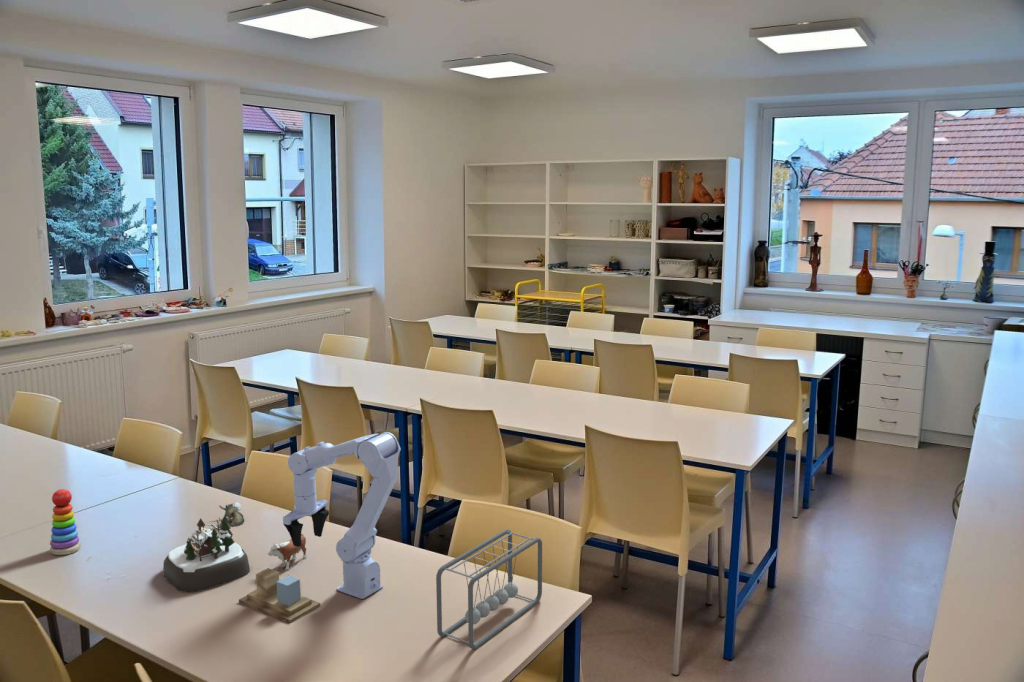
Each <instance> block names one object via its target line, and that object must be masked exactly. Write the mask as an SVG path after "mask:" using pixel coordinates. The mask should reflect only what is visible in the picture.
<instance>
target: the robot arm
mask: <svg viewBox="0 0 1024 682" xmlns="http://www.w3.org/2000/svg"><path fill="white" fill-rule="evenodd" d="M401 450H402V449H401V446H400V444H399V442H398V439H397V437H396V436H395V435H394V434H393V433H392V432H388V431H385V432H381V433H373V434H372V433H371V434H368V435H363V436H361V437H357V438H355V439H350V440H348V441H345V442H342V443H339V444H336V445H334V444H332V443H330V442H326V443H325V441H320V442H318V443H317V444H316V445H315V446H310V445H309V446H305V447H304V448H303V449H301V450H299V451H297V452H294V453H292V454H290V455H289V456H288V459H287V465H288V468H289V470H290V471H291V473H292V474H293V476H292V477H293V478H292V479H293V492H294V506H293V510H291V511H290V512H288V513H287V514H285V515H284V516H282V524H283V526H284V527H285V529H286V530H287V531H288V534H289V536H290V540H291V539H292V542H293V545H294V546H297V547H300V546H301V534H302V532H303V531H302V530H303V526H304V523H301V522H299V520H301V519H303V518H305V517H309V516H311V520H312V527H313V534H314V536H315V537H319V538H320V537H322V536H323V530H324V525H325V523H326V521H327V519H328V517H329V515H330V510H329V500H327V499H322V500H319V501H317V482H316V480H317V479H316V474H317V469H319V468H323V467H326V466H331V465H333V464H335V462H336V461H337V459H338V458H343V457H346V456H350V455H354V456H355V459H357V460H360V462H361V463H362V465H364V468H366V469H367V471H368V472H369V474H370V475H371V476H372V477H373V480H372V481H371V485H370V487H369V489H368V491H367V493H366V496H365V498H364V500H363V502H362V505H361V507H360V509H359V511H358V512H357V516H356V518H355V520H354V522H353V524H352V525H351V527H349V529H348V530H347V531H346V532H345V533H344V535H343V537H342V538H341V539H339V540H338V541H337V542H336V545H335V551H336V554H337V556H338V557H339V558H340V560H341V562H342V572H343V573H342V575H343V577H342V578H343V584H342V585H340V586H338V587H337V588H336V591H339V592H341V593H344V594H347V595H350V596H353V597H354V598H355V597H356V598H358V599H361V600H363V599H366V598H367V597H369V596H371V595H372V594H374V593H376V592H377V591H379V590H381V589H382V588H383V587H384V586H383V585H382V584H381V567H380V564H379V562H377V561H376V560H374V559H373V558H372V556H371V554H372V549H373V548H374V547H375V544H376V535H377V533H378V529H377V528H376V525H377V522H378V521H379V518H380V516H381V515H382V512H383V510H384V508H385V505H386V503H387V501H388V499H389V497H390V495H391V493H392V490H393V488H394V486H395V484H396V482H397V480H398V477H399V454H400V452H401Z"/></svg>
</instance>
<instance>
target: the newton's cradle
mask: <svg viewBox="0 0 1024 682" xmlns="http://www.w3.org/2000/svg"><path fill="white" fill-rule="evenodd" d="M513 535H514V536H517V537H521V538H524V539H525V540H524V541H522V542H521V543H519V544H516V543H513ZM498 539H499V540H498ZM505 539H507V541H505ZM500 542H501V545H502V547H499V546H496V545H497V544H498V543H500ZM503 542H505V543H507V549H506V548H504V543H503ZM535 544H537V594H536V597H535V598H534V599H533V598H529V597H526V596H524V595H521V594H518V593H519V588H518V585H517V584H516V583H514V582H513V579H514V576H513V575H514V573H515V569H516V568H515V567H516V560H517V556H518V555H520V554H521V553H523V552H524V551H526V550H527V549H529V548H531V547H532V546H533V545H535ZM513 545H516V546H515V547H513ZM520 546H521V547H520ZM491 547H492V551H493V553H490V552H487V550H488V549H490V548H491ZM494 547H496V548H500V549H502V550H503V551H502V552H503V554H501V555H497V554H495V549H494ZM481 549H482V550H481ZM479 550H480V551H479ZM513 550H514V551H513ZM505 551H506V552H505ZM482 552H483V558H484V559H483V558H478V557H476V556H479V554H481V553H482ZM485 553H487V554H490V555H493V556H494V557H493V558H494V559H493V560H492V561H488V560H486V556H485ZM472 554H473V555H472ZM496 556H497V557H496ZM467 557H468V558H467ZM475 558H476V559H478V560H482V561H484V564H485V565H483V566H482V567H479V566H476V565H477V564H476V559H475ZM471 559H473V562H474V565H473V564H471V563H467V562H468V561H470V560H471ZM513 559H514V563H513ZM486 562H488V563H486ZM462 564H463V566H464V571H465V572H464V573H462V572H459V571H456V570H454V569H456V568H458V567H459V566H461V565H462ZM491 564H492V565H491ZM504 564H505V569H504V573H507V583H504V582H505V578H506V577H505V576H506V574H504V576H503V582H502V587H501V586H500V580H499V575H498V574H499V573H498V572H499V567H501V566H502V565H504ZM513 564H514V566H513ZM466 565H469V566H472V567H475V571H474V572H472V573H470V574H469V575H468V574H467V570H466ZM488 566H489V567H488ZM481 570H482V571H481ZM494 570H495V571H496V574H495V575H496V576H495V580H494V587H493V593H492V592H491V588H490V587H491V586H490V580H489V574H490V573H491V572H493V571H494ZM445 571H449V572H451V573H455V574H457V575H461V576H463V577H465V578H466V584H467V602H468V603H467V608H468V609H467V610H466V611H465V615H464V617H463V618H461V619H459V620H458V621H456V622H455V623H454V624H452V625H450V626H449V627H448V628H446V629H445V630H443V618H442V617H443V614H442V613H443V612H442V609H443V608H442V607H443V606H442V575H443V573H444V572H445ZM478 572H479V573H478ZM435 576H436V579H435V580H436V581H435V583H436V627H437V628H436V632H437V634H438V636H439V637H442V638H445V637H446V636H448V637H450V638H453V639H455V640H458V641H461V642H463V643H465V644H468V645H469V648H470V649H471V650H477V649H478V648H479V647H481V646H482V645H483V644H485V643H486V642H488V641H489V640H490V639H492V638H493V637H494V636H496V635H497V634H498V633H499V632H500V631H503V630H504V629H505V628H506V627H507V626H509V625H510V624H512V623H513V622H515V620H517V619H518V618H519V617H521V616H522V615H524V613H526V612H528V611H529V610H531V609H532V608H533V607H535V606H536V605H537V604H538V603H539V602H540V600H541V598H542V596H543V541H542V538H540V537H535V538H532V537H530V536H529V537H528V536H525V535H521V534H518V533H514V532H512V530H511V529H509V528H506V529H503V530H502V531H500V532H499V533H496V534H494V536H492V537H490V538H488V539H486V540H484V541H483V542H481V543H480V544H478V545H476V546H475V547H473V548H470V549H469V550H467V551H466V552H463V553H462V554H460V555H459V556H457V557H455V558H453V559H451V560H450V561H448V562H447V563H445V564H443V565H441V567H439V568H438V570H437V573H436V575H435ZM485 576H487V577H486V578H487V579H486V586H485V590H484V591H485V592H484V596H483V601H482V600H480V601H479V602H477V603H476V601H477V595H478V591H479V598H480V599H482V595H481V589H480V584H479V582H480V579H482V578H483V577H485ZM468 578H469V579H470V581H468ZM497 581H498V582H497ZM476 582H477V586H476V593H475V600H474V585H475V583H476ZM496 582H497V583H498V588H499V589H497V590H495V589H496ZM504 584H505V585H504ZM487 587H488V588H489V589H488V590H489V595H488V596H487V597H486V594H487ZM516 596H517V597H520V598H523V599H525V600H528V601H530V602H529V603H528V604H527V605H525V606H524V607H522V608H521V609H520V610H519V611H517V612H515V613H514V614H513V615H512V616H509V618H507V619H506V620H505V621H503V622H502V623H501V624H499V625H498V626H497V627H496V628H494V629H492V630H491V631H490V632H488V633H487V634H486V635H484V636H483V637H482V638H480V639H478V640H477V641H476V642H475V643H474V639H475V638H474V625H476V624H478V623H479V622H480V621H481V618H482V619H483V618H487V617H488V616H489V615H490V612H495V611H497V610H498V609H499V607H500V606H503V605H504V604H507V602H508V601H509V599H513V598H516ZM466 622H467V623H468V624H467V625H468V626H467V627H468V641H467V640H464V639H462V638H460V637H456V636H454V635H453V634H452V635H451V634H450V633H452V632H453V631H455V630H456V629H457V628H459V627H461V626H462V625H463V624H465V623H466Z"/></svg>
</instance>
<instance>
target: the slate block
mask: <svg viewBox="0 0 1024 682" xmlns="http://www.w3.org/2000/svg"><path fill="white" fill-rule="evenodd" d="M300 580H301V579H300V578H298V577H294V576H292V575H287V576H285V577H283V578H281V579H279V581H277V599H278V602H279V603H282V604H284V605H287V606H290V605H292V604H294V603H295V602H297V601H299V600H301V596H302V594H301V582H300Z"/></svg>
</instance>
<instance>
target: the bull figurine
mask: <svg viewBox="0 0 1024 682" xmlns="http://www.w3.org/2000/svg"><path fill="white" fill-rule="evenodd" d="M306 539H307V538H306V537H305V536H304V534H303V533H301V546H300V547H297V546H294V545H293V542H292V539H291V538H290V539H289V540H287V541H284V542H280V543H279V544H277V543H274V544H273V545H272V546H271V547H270V550H269V552H267V555H268V556H269V557H272V556H274V557H277V558H278V560H280V561H281V562H282V565H281V567H282V568H285V569H284V571H286V572H287V571H289V570H290V566H289V565H290V562H291V561H292V562H294V561H295V559H297V557H296V555H297V554H299V553H300V552H301V551H302V553H303V555H302V560H307V559H306V558H307V554H306V553H307V548H306V544H307V542H306V541H307V540H306Z"/></svg>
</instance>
